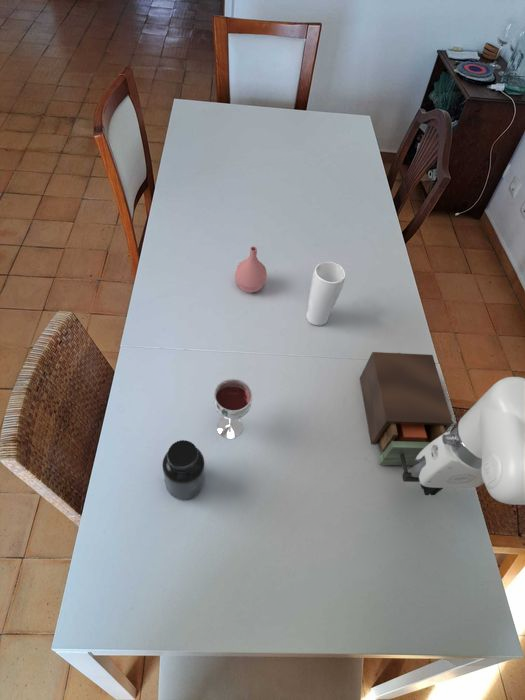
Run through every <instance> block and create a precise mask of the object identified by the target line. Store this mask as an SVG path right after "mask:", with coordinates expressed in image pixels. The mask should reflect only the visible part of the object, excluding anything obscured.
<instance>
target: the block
mask: <svg viewBox="0 0 525 700" xmlns="http://www.w3.org/2000/svg"><path fill="white" fill-rule="evenodd" d="M395 424H396V428H397V433H398V436H397V437H396V438H395V440H394V441H405V442H424V441H425V440H426V438H427V435H426V431H425V427H424V424H397V423H395Z"/></svg>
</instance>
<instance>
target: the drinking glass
mask: <svg viewBox="0 0 525 700" xmlns="http://www.w3.org/2000/svg"><path fill="white" fill-rule="evenodd" d="M346 276H347V275H346V270H345V269H344V267H343V266H341V265H340V264H338V263H337V262H333V261H322V262H320V263H318V264H317V265H316V266H315V268H314V270H313V274H312V278H311V282H310V287H309V295H308V302H307V309H306V313H305V317H306V320H307V321H308V323H309V324H311V325H313V326H317V327H318V326H323V325H325V324H327V323H328V321H329V318H330V315H331V314H332V313H331V312H332V311H333V308H334V307H335V305H336V302H337V300H338V299H339V296H340V294H341V292H342V289H343V286H344V283H345V280H346Z"/></svg>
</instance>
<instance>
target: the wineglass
mask: <svg viewBox="0 0 525 700" xmlns="http://www.w3.org/2000/svg"><path fill="white" fill-rule="evenodd" d="M213 396H214V397H213V407H214V409H215V410H216V413H218V415H220V416H221V417H222V418H220V419H219V421H218V423H217V425H216V426H217V428H216V429H217V432H218V433H219V435H220V436H222V437H223V438H225V439H231V440H232V439H235V438H237V437H239V436H240V435H241V434H242V433H243V430H244V429H243V428H244V425H243V422H242V421H241V418H243V417H244V416H246V414H248V412H249V411H250V409H251V407H252V401H253V392H252V389H251V387H250V386H249V385H248V384H247V383H246V382H245V381H243V380H241V379H238V378H228V379H225V380H223V381H220V383H219V384H217V385H216V388H214V393H213Z"/></svg>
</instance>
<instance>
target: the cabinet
mask: <svg viewBox="0 0 525 700" xmlns="http://www.w3.org/2000/svg"><path fill="white" fill-rule="evenodd" d="M359 383H360V389H361V395H362V401H363V405H364V406H363V407H364V412H365V417H366V424H367V428H368V433H369V434H368V435H369V440H370V444H371V445H380V442H379V438H380V436H381V435H382V433H383V432H384V430H385V429H386V427H387V426H388V424H389V423H397V424H428V425H444V428H445V432H448V429H450V428H451V426H453V424H454V421H453V419H452V415H451V413H450V412H451V411H450V408H449V404H448V402H447V398H446V395H445V391H444V388H443V384H442V381H441V378H440V375H439V371H438V368H437V365H436V362H435V358H434V355H433V354H426V353H424V354H422V353H401V352H384V351H383V352H381V351H372V352H371V354H370V356H369V358H368V360H367V363H366V364H365V366H364V368H363V370H362V372H361V374H360V377H359Z"/></svg>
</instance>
